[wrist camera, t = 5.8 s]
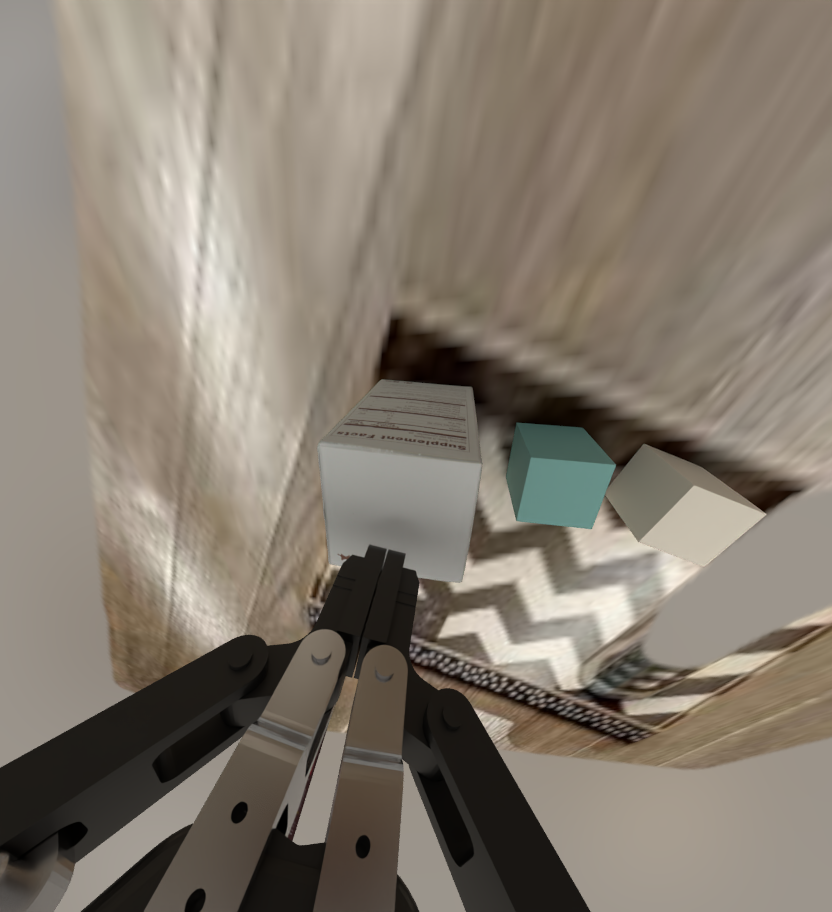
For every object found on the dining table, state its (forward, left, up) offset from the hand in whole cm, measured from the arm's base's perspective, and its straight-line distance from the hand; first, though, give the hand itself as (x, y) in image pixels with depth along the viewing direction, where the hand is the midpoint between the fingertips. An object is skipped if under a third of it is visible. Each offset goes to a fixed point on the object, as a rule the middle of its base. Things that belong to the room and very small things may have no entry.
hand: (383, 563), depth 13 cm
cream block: (0, +19, -15) cm, 24 cm away
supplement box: (0, 0, -15) cm, 15 cm away
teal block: (0, +10, -15) cm, 18 cm away
